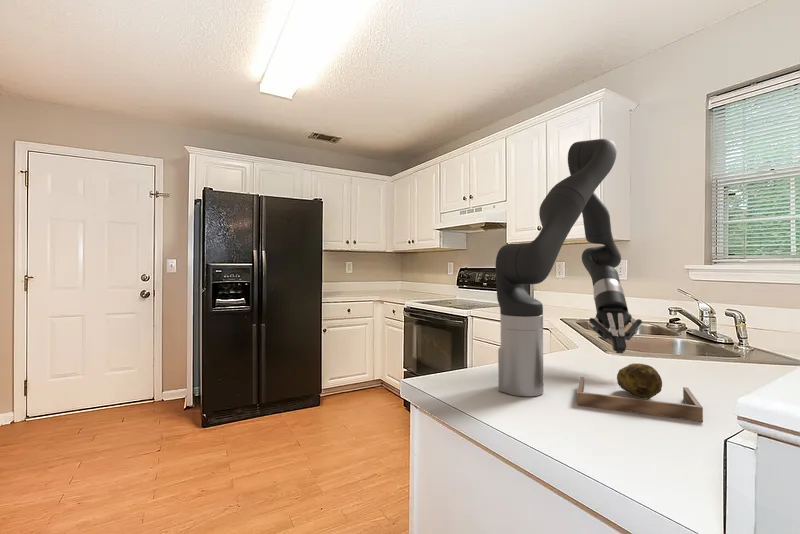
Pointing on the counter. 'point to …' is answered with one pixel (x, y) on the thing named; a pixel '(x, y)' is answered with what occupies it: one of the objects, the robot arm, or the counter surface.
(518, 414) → the counter surface
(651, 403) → the tray
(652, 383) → the potato
